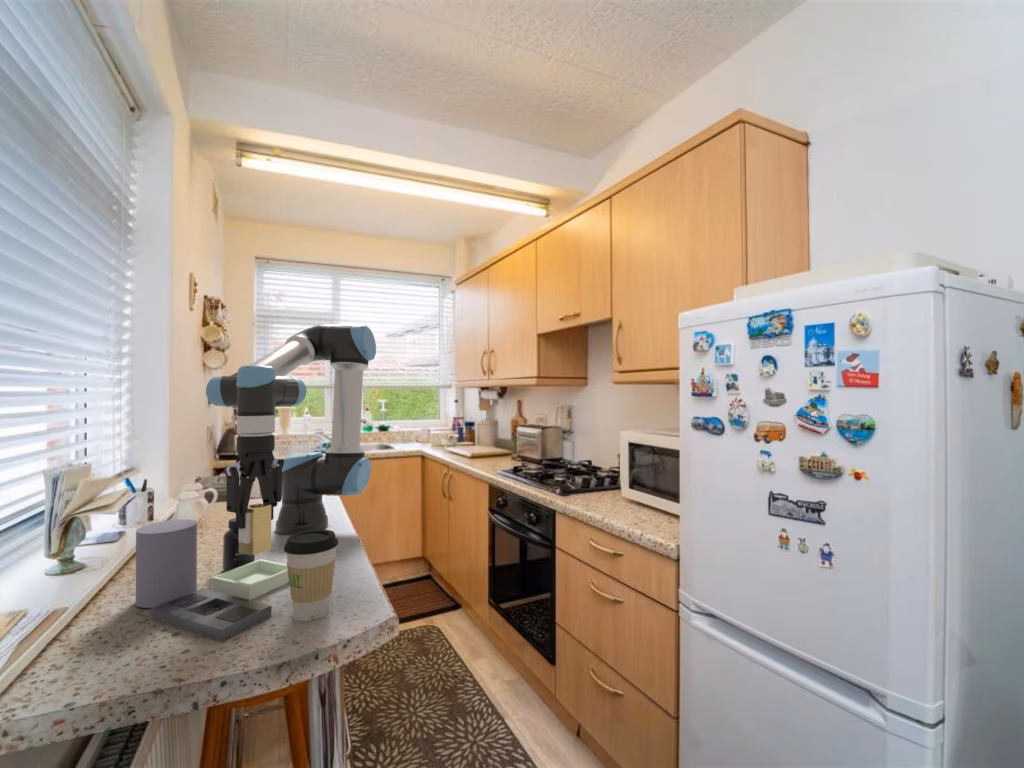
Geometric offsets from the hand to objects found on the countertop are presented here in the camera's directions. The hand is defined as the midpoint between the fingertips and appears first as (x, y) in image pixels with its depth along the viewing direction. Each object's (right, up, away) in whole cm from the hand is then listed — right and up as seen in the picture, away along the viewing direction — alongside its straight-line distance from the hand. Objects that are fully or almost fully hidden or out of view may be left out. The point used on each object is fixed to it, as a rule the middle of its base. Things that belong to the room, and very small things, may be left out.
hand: (255, 538), depth 105 cm
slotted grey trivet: (0, -10, -15) cm, 18 cm away
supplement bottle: (-9, -10, +9) cm, 17 cm away
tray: (0, -10, 0) cm, 10 cm away
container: (-15, -10, -7) cm, 19 cm away
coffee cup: (+18, -10, -14) cm, 25 cm away
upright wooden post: (0, -3, 0) cm, 3 cm away
